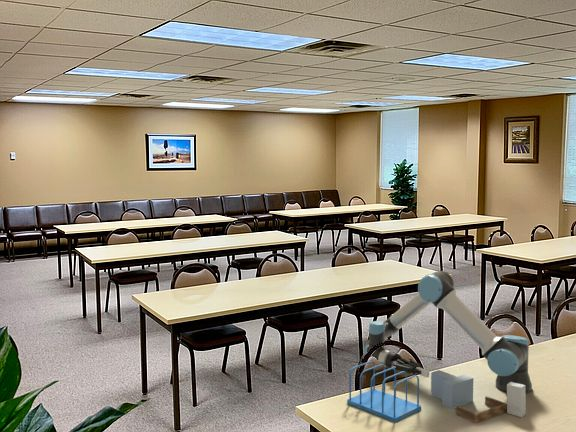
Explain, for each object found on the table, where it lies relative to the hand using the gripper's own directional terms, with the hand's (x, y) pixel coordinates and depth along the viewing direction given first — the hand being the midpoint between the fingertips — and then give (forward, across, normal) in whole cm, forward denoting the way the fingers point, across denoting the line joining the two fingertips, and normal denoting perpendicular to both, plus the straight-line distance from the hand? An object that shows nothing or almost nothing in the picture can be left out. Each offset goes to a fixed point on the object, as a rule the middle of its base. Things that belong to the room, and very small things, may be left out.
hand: (428, 374), depth 256 cm
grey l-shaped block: (+12, 0, -7) cm, 14 cm away
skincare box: (+37, -10, -7) cm, 39 cm away
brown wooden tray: (+28, 0, -7) cm, 29 cm away
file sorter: (+2, +28, -8) cm, 29 cm away
